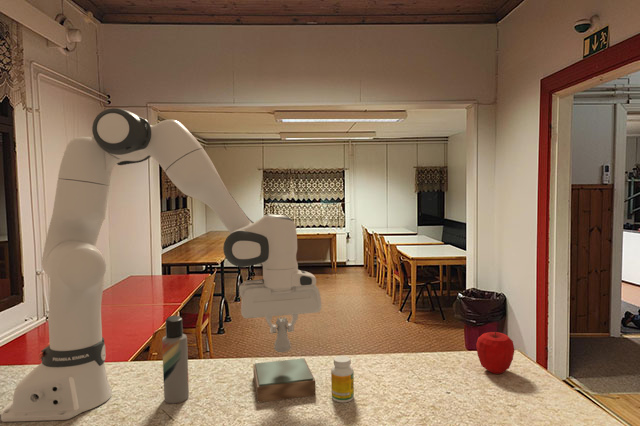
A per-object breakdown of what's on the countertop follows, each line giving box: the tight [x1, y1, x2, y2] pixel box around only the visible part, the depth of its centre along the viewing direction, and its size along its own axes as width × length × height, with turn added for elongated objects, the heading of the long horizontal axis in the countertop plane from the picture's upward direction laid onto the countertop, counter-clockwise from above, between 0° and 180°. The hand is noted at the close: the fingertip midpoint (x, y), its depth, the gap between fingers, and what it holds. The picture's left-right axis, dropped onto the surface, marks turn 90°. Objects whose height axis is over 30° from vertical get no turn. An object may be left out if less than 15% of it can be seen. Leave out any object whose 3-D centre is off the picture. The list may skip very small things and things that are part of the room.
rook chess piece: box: [273, 316, 292, 353], centre depth 111 cm, size 4×4×8 cm
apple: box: [475, 331, 515, 375], centre depth 117 cm, size 10×10×11 cm
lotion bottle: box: [161, 315, 190, 405], centre depth 104 cm, size 6×6×20 cm
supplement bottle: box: [330, 355, 355, 404], centre depth 103 cm, size 5×5×10 cm
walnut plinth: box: [252, 358, 317, 403], centre depth 110 cm, size 14×14×4 cm
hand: (282, 331), depth 110 cm, fingers closed on rook chess piece, 3 cm apart
